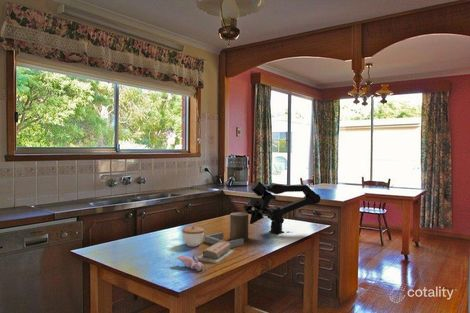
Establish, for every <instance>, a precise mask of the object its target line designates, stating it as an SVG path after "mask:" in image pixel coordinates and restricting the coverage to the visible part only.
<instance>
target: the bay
mask: <svg viewBox="0 0 470 313" xmlns="http://www.w3.org/2000/svg"><path fill="white" fill-rule="evenodd" d="M203 239H204V240H203V242H205V243H207V244H210V245H211V246H212V245H214V244H216V243H217V242H228V243H230V244H231V246H230V249H233V248H237V247H241V246H244V243H245V241H244V239H242V238H241V239H236V240H232V241H231V240H229V241H226V240H223V239H224V232H216V233H211V234H206V235H204V236H203Z"/></svg>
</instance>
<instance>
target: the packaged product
mask: <svg viewBox="0 0 470 313" xmlns="http://www.w3.org/2000/svg"><path fill="white" fill-rule="evenodd" d="M230 246H231V244H230V243H228V241H226V242H217V243H216V244H214V245H212V244H211V245H210V246H209V247H207V248H205V249H203V251H202V254H200V255H198V256H196V258H197V260H198V261H201V262H207V263H213V264H218V263H220V262H221V261H223V260H224V259H226V258H227V257H229V256H230V255H232V254H233V253H234V252H235V251H236V250H235V249H232V248H230Z"/></svg>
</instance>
